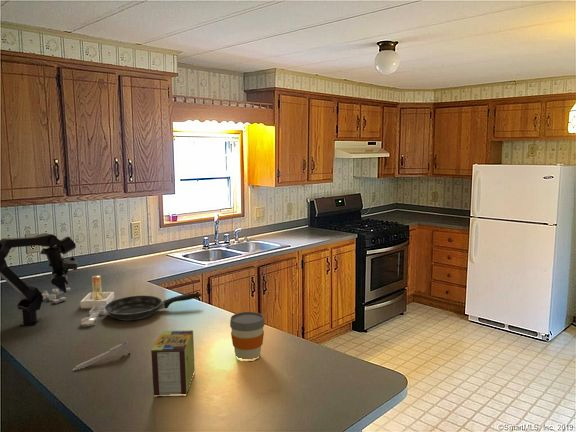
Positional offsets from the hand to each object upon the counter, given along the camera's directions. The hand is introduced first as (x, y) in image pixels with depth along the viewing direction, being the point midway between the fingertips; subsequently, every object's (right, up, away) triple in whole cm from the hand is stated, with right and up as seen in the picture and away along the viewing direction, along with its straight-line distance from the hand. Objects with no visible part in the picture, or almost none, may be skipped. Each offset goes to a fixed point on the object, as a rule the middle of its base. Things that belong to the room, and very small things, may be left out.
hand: (66, 288), depth 219 cm
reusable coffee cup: (+90, -18, -48) cm, 104 cm away
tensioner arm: (+17, -12, -8) cm, 22 cm away
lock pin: (+10, -9, +12) cm, 18 cm away
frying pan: (+40, -11, -1) cm, 41 cm away
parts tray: (+10, -9, +12) cm, 18 cm away
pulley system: (-18, -9, +23) cm, 30 cm away
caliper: (+38, -19, -52) cm, 67 cm away
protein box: (+68, -21, -68) cm, 99 cm away
